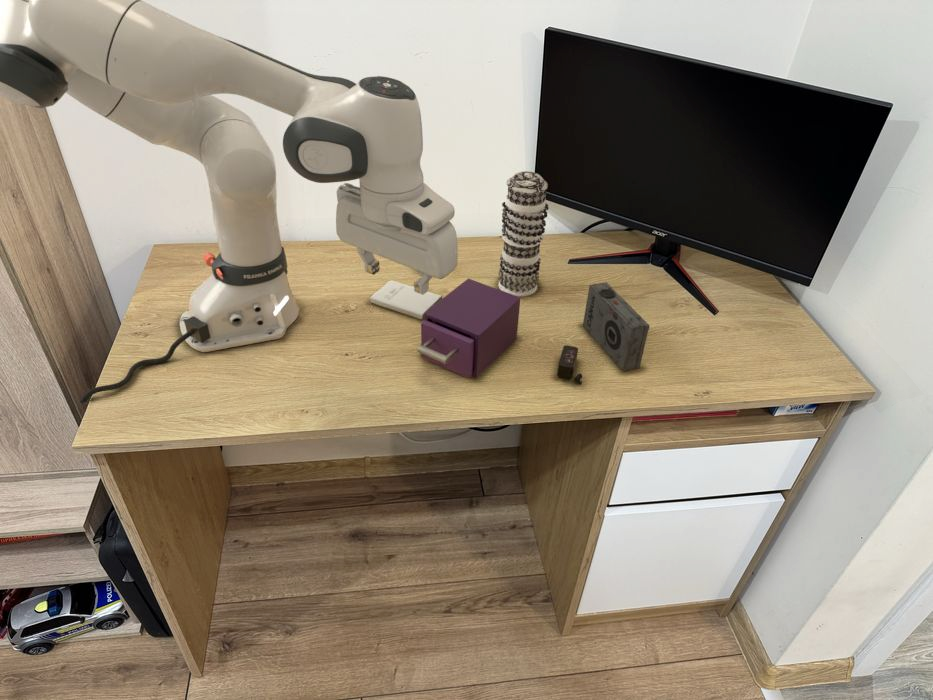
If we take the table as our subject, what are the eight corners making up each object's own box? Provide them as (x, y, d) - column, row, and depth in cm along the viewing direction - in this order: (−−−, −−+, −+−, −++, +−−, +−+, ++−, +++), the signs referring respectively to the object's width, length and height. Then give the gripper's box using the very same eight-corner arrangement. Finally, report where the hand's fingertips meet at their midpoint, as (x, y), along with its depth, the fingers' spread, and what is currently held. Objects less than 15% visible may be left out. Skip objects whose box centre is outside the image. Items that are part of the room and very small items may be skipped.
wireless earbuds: (555, 381, 126) (557, 367, 124) (561, 358, 131) (563, 344, 129) (580, 386, 125) (583, 372, 123) (586, 363, 130) (588, 349, 128)
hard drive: (422, 321, 139) (370, 303, 144) (442, 301, 145) (391, 285, 149) (422, 314, 138) (369, 296, 143) (442, 295, 144) (391, 278, 148)
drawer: (455, 391, 121) (456, 355, 117) (407, 369, 126) (406, 334, 121) (507, 341, 133) (510, 307, 129) (461, 323, 138) (462, 289, 133)
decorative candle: (535, 300, 147) (547, 189, 131) (492, 293, 148) (499, 182, 133) (542, 278, 154) (555, 170, 138) (501, 271, 155) (510, 164, 140)
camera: (579, 323, 140) (586, 281, 134) (596, 320, 142) (604, 277, 136) (621, 372, 128) (631, 328, 122) (640, 368, 130) (650, 324, 124)
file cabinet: (476, 378, 126) (478, 335, 120) (423, 355, 130) (423, 313, 125) (516, 339, 136) (520, 297, 130) (466, 319, 140) (468, 278, 135)
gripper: (321, 187, 101) (331, 269, 109) (438, 228, 92) (438, 313, 101) (350, 172, 105) (357, 252, 113) (464, 210, 96) (462, 293, 105)
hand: (396, 281), depth 107 cm, fingers open, 8 cm apart
